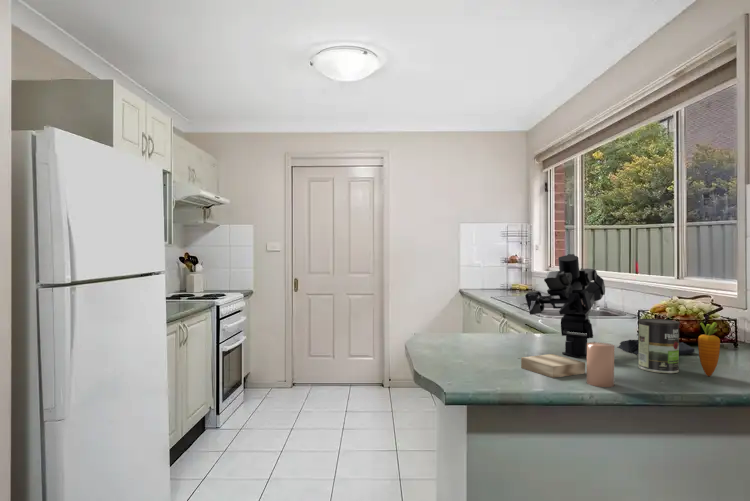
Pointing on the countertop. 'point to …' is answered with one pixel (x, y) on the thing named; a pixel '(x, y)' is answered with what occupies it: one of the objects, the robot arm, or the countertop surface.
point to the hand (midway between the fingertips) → (544, 313)
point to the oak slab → (553, 365)
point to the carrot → (709, 348)
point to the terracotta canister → (600, 364)
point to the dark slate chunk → (633, 347)
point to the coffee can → (659, 345)
